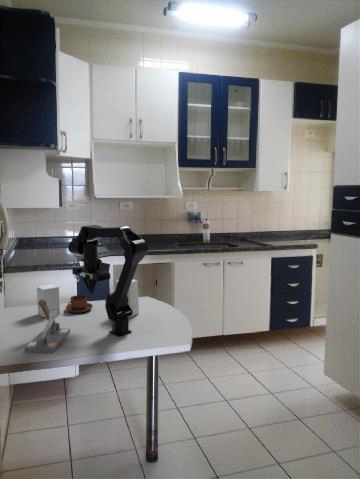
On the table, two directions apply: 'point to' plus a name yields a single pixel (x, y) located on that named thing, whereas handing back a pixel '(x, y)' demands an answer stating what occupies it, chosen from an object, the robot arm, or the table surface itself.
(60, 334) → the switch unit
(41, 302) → the walnut lever
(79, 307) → the cup and saucer
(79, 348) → the table surface
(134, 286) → the skincare box
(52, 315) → the steel lever
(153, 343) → the table surface
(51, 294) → the supplement box
